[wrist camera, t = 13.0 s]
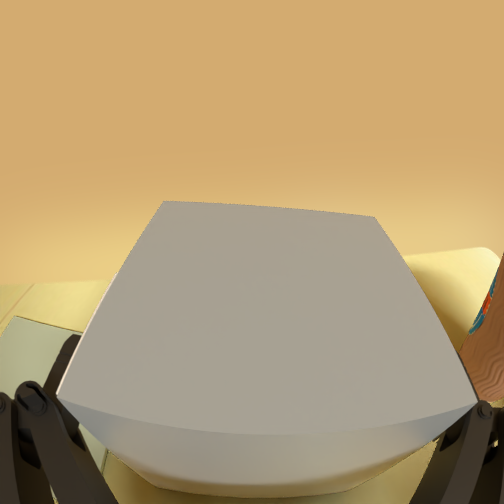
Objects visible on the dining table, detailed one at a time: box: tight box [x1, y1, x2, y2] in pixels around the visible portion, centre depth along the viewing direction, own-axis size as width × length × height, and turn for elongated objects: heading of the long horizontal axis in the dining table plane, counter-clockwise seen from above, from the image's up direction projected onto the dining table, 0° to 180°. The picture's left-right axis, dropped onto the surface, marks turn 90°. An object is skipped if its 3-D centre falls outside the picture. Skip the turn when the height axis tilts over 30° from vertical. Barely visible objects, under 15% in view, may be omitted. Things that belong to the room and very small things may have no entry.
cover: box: [57, 201, 478, 498], centre depth 13 cm, size 11×11×12 cm
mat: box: [0, 316, 108, 500], centre depth 15 cm, size 14×14×1 cm
